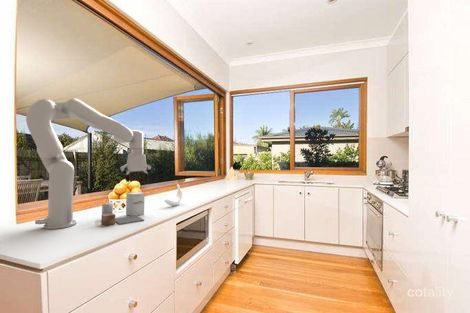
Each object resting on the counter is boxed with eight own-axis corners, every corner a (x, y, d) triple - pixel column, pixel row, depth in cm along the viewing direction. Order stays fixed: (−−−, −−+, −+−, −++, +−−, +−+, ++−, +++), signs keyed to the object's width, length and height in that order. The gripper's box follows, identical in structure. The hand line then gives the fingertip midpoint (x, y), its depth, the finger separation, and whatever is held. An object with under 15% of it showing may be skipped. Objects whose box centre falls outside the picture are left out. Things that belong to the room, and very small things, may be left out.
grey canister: (103, 220, 121) (103, 205, 122) (100, 218, 125) (101, 203, 125) (113, 219, 125) (114, 204, 125) (110, 217, 128) (111, 202, 129)
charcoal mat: (119, 224, 114) (119, 223, 114) (112, 219, 123) (112, 218, 123) (144, 220, 122) (144, 219, 122) (136, 216, 131) (136, 215, 131)
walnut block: (103, 226, 111) (103, 216, 111) (101, 224, 115) (101, 214, 115) (115, 224, 114) (115, 214, 114) (112, 222, 118) (112, 212, 118)
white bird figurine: (164, 207, 155) (164, 185, 155) (177, 202, 173) (178, 183, 174) (170, 208, 154) (170, 186, 154) (183, 203, 172) (184, 183, 172)
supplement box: (132, 216, 130) (132, 194, 130) (125, 214, 135) (126, 193, 135) (144, 214, 136) (144, 192, 136) (137, 212, 141) (138, 191, 141)
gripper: (122, 151, 128) (122, 182, 128) (153, 151, 139) (153, 180, 139) (118, 151, 133) (118, 181, 133) (148, 152, 145) (148, 179, 145)
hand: (136, 181), depth 136 cm, fingers open, 9 cm apart
